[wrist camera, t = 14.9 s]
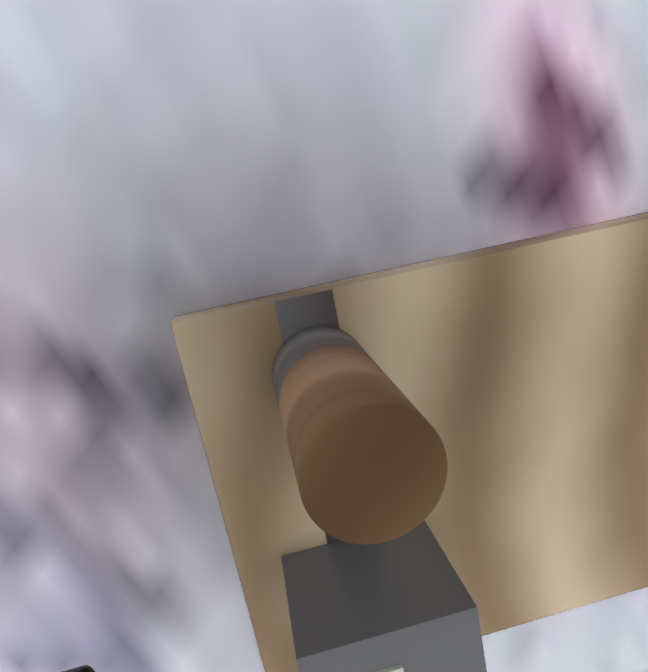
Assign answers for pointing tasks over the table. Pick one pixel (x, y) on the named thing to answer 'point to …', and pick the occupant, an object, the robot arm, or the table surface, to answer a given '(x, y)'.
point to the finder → (381, 608)
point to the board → (458, 418)
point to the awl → (355, 439)
